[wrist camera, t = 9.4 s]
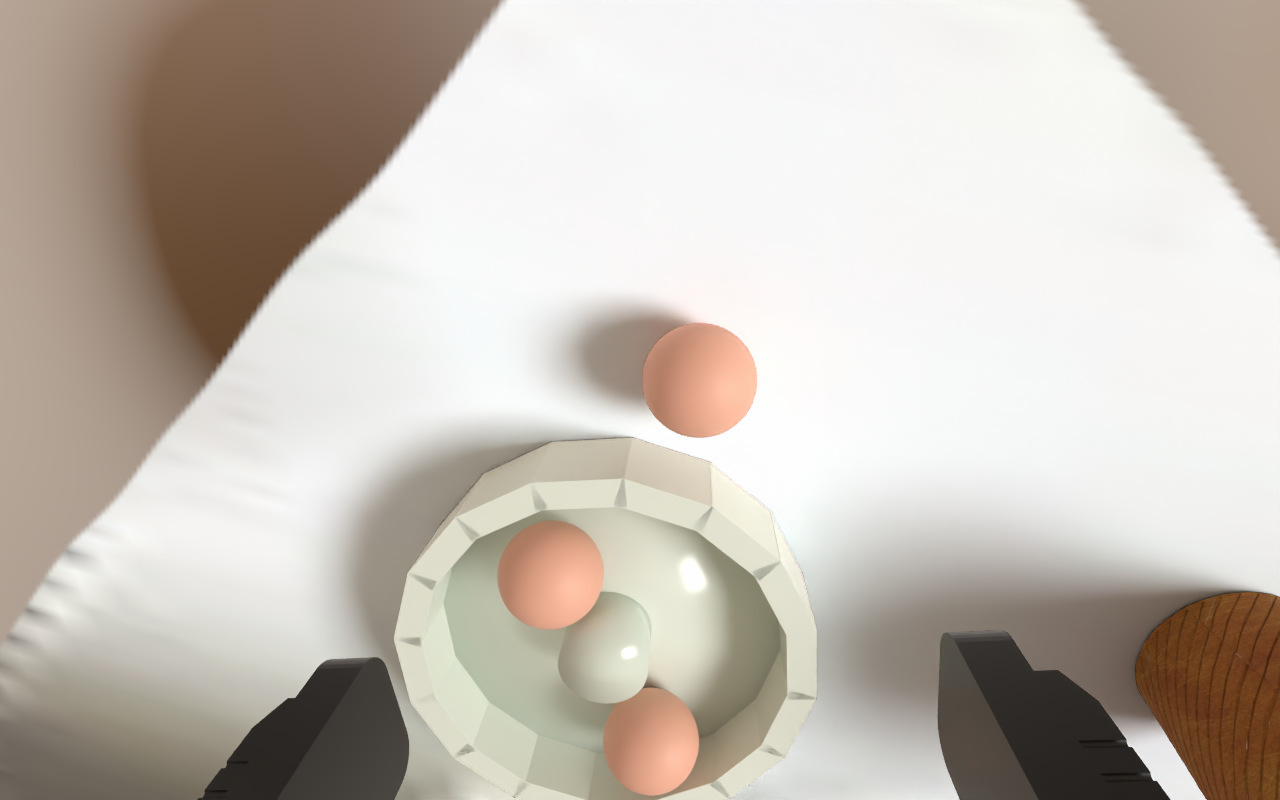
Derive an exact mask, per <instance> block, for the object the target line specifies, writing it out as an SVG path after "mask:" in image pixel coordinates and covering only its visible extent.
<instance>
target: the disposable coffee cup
mask: <svg viewBox="0 0 1280 800" xmlns="http://www.w3.org/2000/svg"><path fill="white" fill-rule="evenodd" d="M1135 675H1136V684H1137V687H1138V689H1139V692H1140V694H1141V696H1142V697H1143V699H1144V700H1145V702H1146V703H1147V705H1148V706H1149V708H1150V709H1151V711H1152V713H1153V714H1154V716H1155V717H1156V719H1157V721H1158V722H1159V724H1160V725H1161V727H1162V728H1163V730H1164V732H1165V733H1166V735H1167V737H1168V738H1169V740H1170V742H1171V743H1172V745H1173V746H1174V748H1175V749H1176V751H1177V753H1178V755H1179V756H1180V758H1181V759H1182V761H1183V762H1184V764H1185V765H1186V767H1187V769H1188V771H1189V772H1190V774H1191V775H1192V777H1193V778H1194V780H1195V782H1196V784H1197V785H1198V787H1199V789H1200V790H1201V792H1202V793H1203V795H1204V796H1205V798H1206V799H1207V800H1280V597H1278V596H1275V595H1272V594H1264V593H1254V592H1241V593H1228V594H1222V595H1217V596H1214V597H1210V598H1207V599H1204V600H1201V601H1198V602H1196V603H1193V604H1191V605H1189V606H1187V607H1184V608H1183V609H1181V610H1180V611H1178V612H1177V613H1175V614H1174V615H1172V616H1171V617H1169V618H1168V619H1167V620H1165V621H1164V622H1163V623H1162V624H1161V625H1159V626H1158V627H1157V628H1156V629H1155V630H1154V631H1153V633H1152V634H1151V635H1150V636H1149V638H1148V639H1147V640H1146V642H1145V643H1144V645H1143V647H1142V649H1141V652H1140V654H1139V657H1138V659H1137V663H1136V668H1135Z"/></svg>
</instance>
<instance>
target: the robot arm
mask: <svg viewBox="0 0 1280 800" xmlns="http://www.w3.org/2000/svg"><path fill="white" fill-rule="evenodd" d="M938 730H939V737H940V743H941V748H942V752H943V756H944V760H945V763H946V766H947V769H948V772H949V774H950V777H951V779H952V782H953V784H954V787H955V789H956V791H957V794H958V796H959V799H960V800H1170V798H1169V797H1168V796H1167V794H1166V793H1165V792H1164V790H1163V789H1162V788H1161V786H1160V785H1159V783H1158V782H1157V781H1153V780H1152V778H1151V775H1150V771H1149V770H1148V768H1147V767H1146V766H1145V764H1144V763H1143V762H1142V760H1141V759H1140V757H1139V756H1138V755H1137V753H1136V752H1135V751H1134V749H1133V748H1132V747H1128V745H1127V742H1126V738H1125V737H1124V736H1123V734H1122V733H1121V732H1120V730H1119V729H1118V727H1117V726H1116V725H1115V723H1114V722H1113V721H1112V719H1111V718H1110V716H1109V715H1108V714H1107V712H1106V711H1105V710H1104V708H1103V707H1102V706H1101V704H1100V703H1099V701H1097V700H1096V699H1095V698H1094V697H1092V696H1091V695H1090V694H1088V693H1087V692H1086V691H1084V690H1083V689H1082V688H1080V687H1079V686H1078V685H1077V684H1075V683H1074V682H1073V681H1071V680H1070V679H1069V678H1067V677H1066V676H1065V675H1063V674H1062V673H1061V672H1060V671H1058V670H1048V671H1033V670H1032V668H1031V667H1030V665H1029V664H1028V662H1027V660H1026V659H1025V657H1024V656H1023V654H1022V653H1021V651H1020V650H1019V648H1018V647H1017V645H1016V643H1015V642H1014V640H1013V639H1012V638H1011V636H1010V635H1009V634H1008V633H1007V632H1005V631H1003V630H993V631H972V632H950V633H944V634H943V636H942V638H941V645H940V670H939V696H938ZM408 757H409V739H408V734H407V730H406V727H405V724H404V721H403V718H402V714H401V711H400V708H399V705H398V702H397V699H396V696H395V693H394V689H393V686H392V683H391V680H390V677H389V674H388V671H387V668H386V665H385V664H384V662H383V661H382V660H381V659H379V658H376V657H372V658H351V659H330V660H327V661H325V662H323V663H322V664H321V665H320V666H319V667H318V668H317V669H316V671H315V672H314V673H313V675H312V676H311V677H310V679H309V680H308V681H307V683H306V684H305V686H304V687H303V688H302V690H301V691H300V692H299V694H298V695H297V697H296V698H288V699H287V700H285V701H284V702H283V703H282V704H281V705H279V706H278V707H277V708H276V709H275V710H273V711H272V712H271V713H270V714H268V715H267V716H266V717H265V718H264V719H262V720H261V721H260V722H259V723H258V724H256V725H255V726H254V727H253V728H252V729H251V731H250V732H249V733H248V734H247V736H246V737H245V738H244V740H243V741H242V742H241V744H240V745H239V746H238V747H237V749H236V750H235V751H234V753H233V754H232V755H231V757H230V758H229V759H228V760H227V766H226V768H222V769H221V770H220V771H219V772H218V773H217V775H216V776H215V777H214V779H213V780H212V781H211V783H210V784H209V785H208V787H207V788H206V789H205V790H204V791H205V794H204V797H203V798H198V800H394V799H395V797H396V795H397V792H398V790H399V788H400V786H401V784H402V781H403V779H404V776H405V773H406V769H407V764H408Z"/></svg>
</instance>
